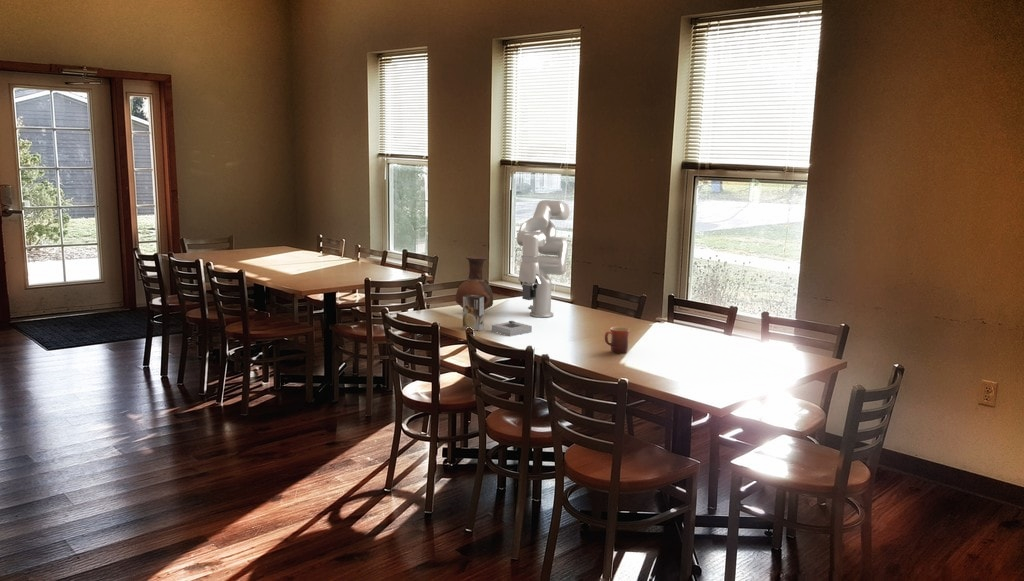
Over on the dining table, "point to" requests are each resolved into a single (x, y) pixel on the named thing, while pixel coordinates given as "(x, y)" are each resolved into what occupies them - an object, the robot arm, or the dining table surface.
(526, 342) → the dining table surface
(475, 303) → the coffee box
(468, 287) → the vase
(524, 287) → the plug
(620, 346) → the mug
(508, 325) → the socket plate
